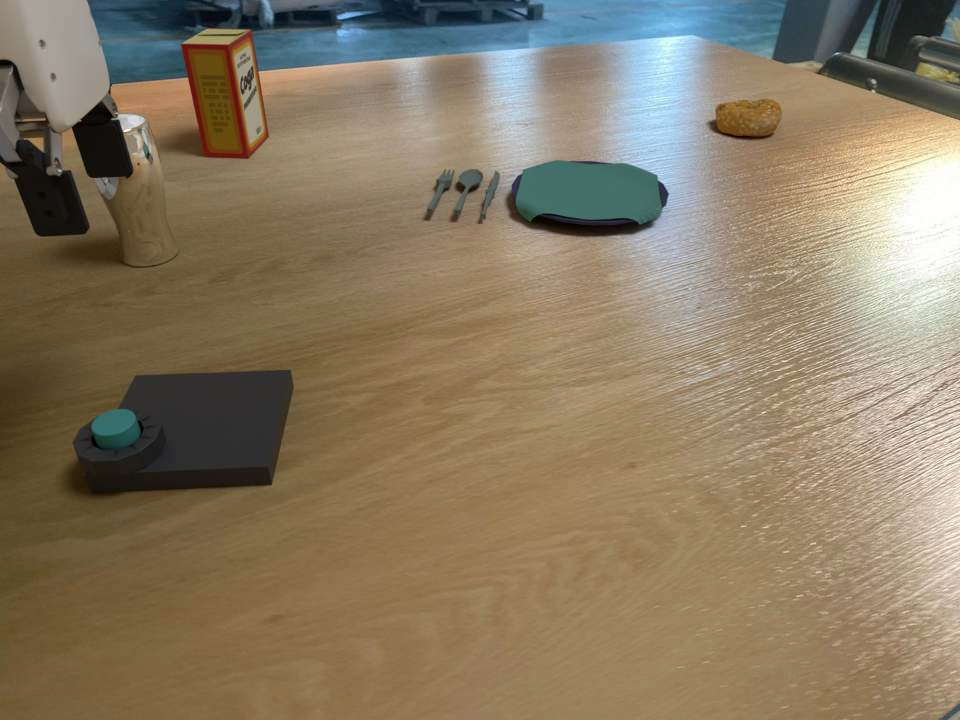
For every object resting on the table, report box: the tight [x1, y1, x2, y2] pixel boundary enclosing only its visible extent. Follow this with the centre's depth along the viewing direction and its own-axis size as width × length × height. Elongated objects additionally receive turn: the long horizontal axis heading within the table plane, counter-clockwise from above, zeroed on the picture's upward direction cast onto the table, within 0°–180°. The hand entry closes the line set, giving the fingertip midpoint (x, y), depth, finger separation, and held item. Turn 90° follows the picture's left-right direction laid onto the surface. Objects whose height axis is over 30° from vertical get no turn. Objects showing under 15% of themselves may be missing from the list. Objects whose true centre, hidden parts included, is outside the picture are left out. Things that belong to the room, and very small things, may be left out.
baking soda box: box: [180, 27, 270, 159], centre depth 110 cm, size 10×6×16 cm
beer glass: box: [92, 112, 179, 268], centre depth 82 cm, size 7×7×15 cm
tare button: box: [91, 408, 141, 450], centre depth 55 cm, size 3×3×2 cm
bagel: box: [714, 98, 783, 138], centre depth 120 cm, size 10×11×5 cm
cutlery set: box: [426, 159, 670, 226], centre depth 98 cm, size 20×30×2 cm, turn 82°
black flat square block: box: [72, 369, 295, 494], centre depth 59 cm, size 14×12×4 cm
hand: (89, 202), depth 52 cm, fingers open, 9 cm apart
